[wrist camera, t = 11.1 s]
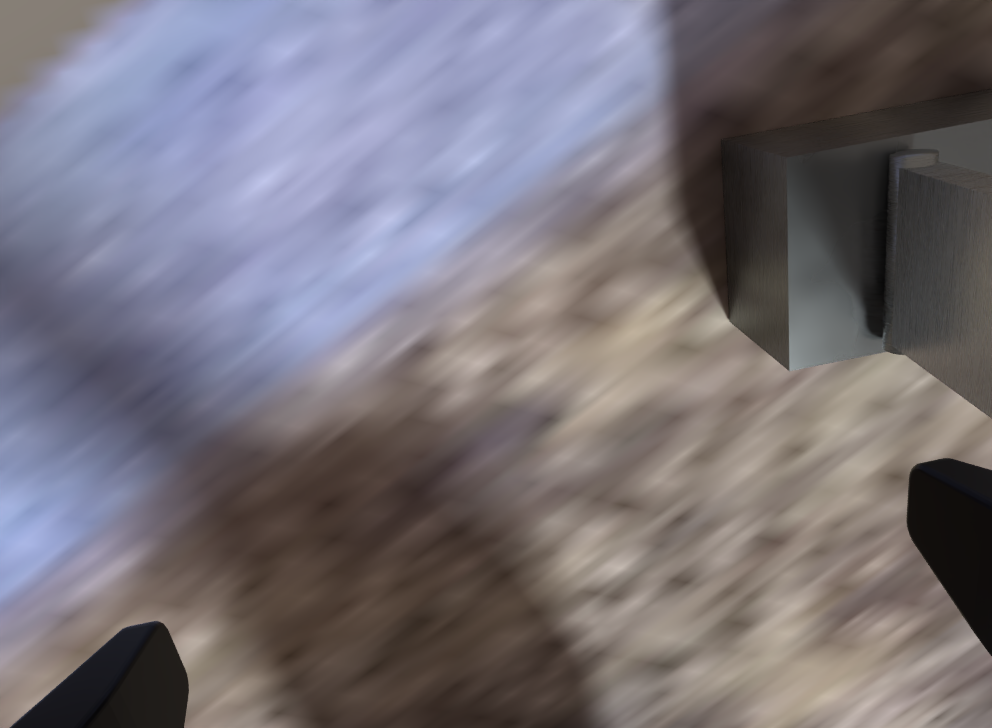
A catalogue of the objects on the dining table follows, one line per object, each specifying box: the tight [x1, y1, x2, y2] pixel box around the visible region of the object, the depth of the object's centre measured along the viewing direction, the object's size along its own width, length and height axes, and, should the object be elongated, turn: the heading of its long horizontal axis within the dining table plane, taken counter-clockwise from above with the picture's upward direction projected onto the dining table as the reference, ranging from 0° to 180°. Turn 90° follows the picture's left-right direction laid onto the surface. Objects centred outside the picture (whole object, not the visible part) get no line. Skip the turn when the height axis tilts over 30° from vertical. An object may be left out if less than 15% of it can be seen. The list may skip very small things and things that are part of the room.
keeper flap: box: [882, 149, 992, 418], centre depth 14 cm, size 4×1×6 cm, turn 9°
